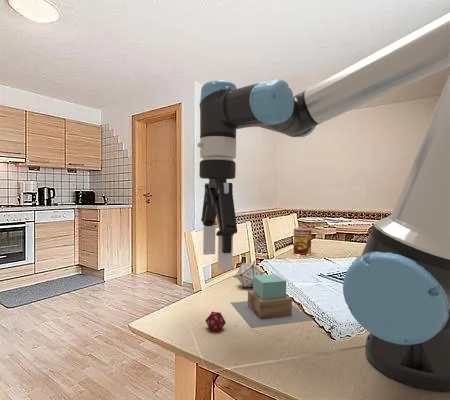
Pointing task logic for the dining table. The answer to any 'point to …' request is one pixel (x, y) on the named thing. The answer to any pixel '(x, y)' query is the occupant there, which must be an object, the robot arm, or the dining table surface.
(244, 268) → the game die
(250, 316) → the mat
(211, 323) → the dice
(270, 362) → the dining table surface
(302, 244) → the canned food
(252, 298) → the base block
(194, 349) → the dining table surface
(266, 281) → the mid block
